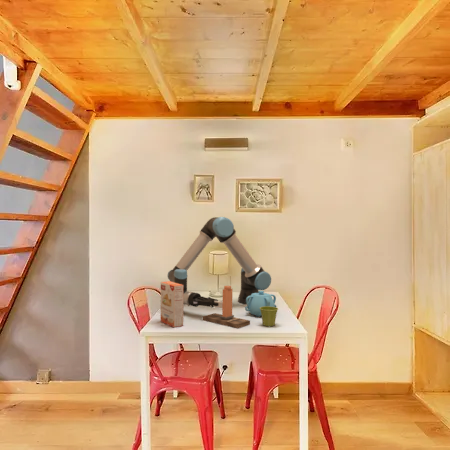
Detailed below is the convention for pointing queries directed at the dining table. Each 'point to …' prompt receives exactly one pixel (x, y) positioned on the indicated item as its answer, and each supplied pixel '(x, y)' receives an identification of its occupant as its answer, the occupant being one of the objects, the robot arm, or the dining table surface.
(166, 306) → the cracker box
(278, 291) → the dining table surface
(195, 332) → the dining table surface
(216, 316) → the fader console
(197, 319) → the dining table surface
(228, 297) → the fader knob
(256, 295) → the decorative pot
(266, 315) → the plant pot
